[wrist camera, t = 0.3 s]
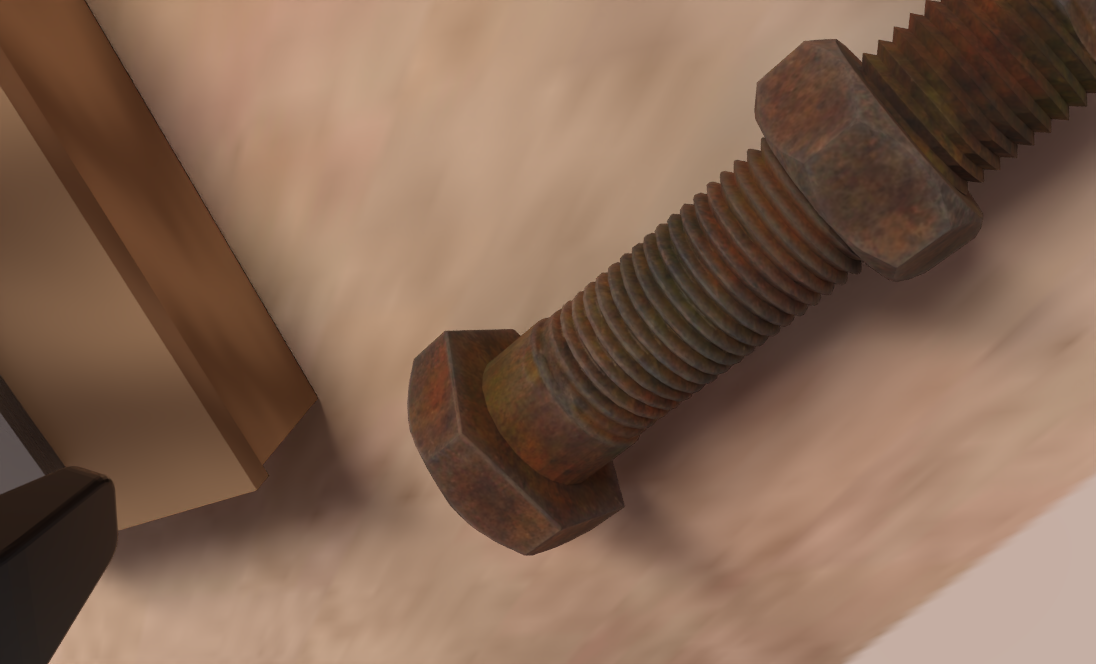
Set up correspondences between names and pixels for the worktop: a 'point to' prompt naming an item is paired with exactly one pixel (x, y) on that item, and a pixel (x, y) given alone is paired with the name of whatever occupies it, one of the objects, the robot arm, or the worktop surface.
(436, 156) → the worktop surface
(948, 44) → the bolt
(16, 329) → the brown slab with collar
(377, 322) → the worktop surface
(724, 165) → the worktop surface
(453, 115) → the worktop surface
